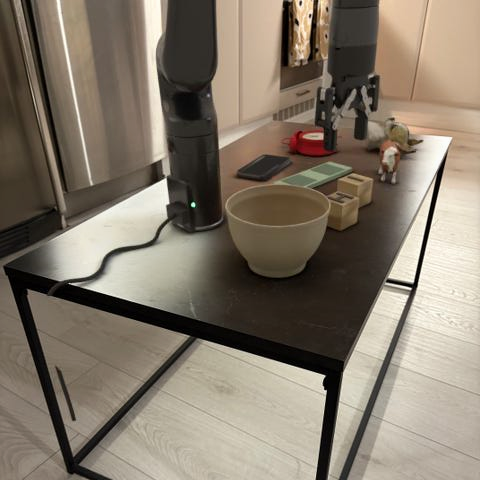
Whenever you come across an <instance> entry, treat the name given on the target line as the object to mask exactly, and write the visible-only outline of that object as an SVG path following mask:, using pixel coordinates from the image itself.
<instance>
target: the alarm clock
mask: <svg viewBox="0 0 480 480" xmlns="http://www.w3.org/2000/svg"><path fill="white" fill-rule="evenodd" d="M323 135H324V130H323V129H322V130H317V129H315V130H307V131H302V130H296V131H295V132H294V133H293V135H292V136H291V137H286V138H285V137H284V138H282V139H281V141H280V143H281V144H283V145H287V146H289V150H290V152H291V153H292V154H296V153H297V152H298V153H299V154H302V155H307V156H327V155H331V154H334V153H335V152H338V150H337V149H336V151H334V152H328V151H325V150H324V148H323V140H324V139H323ZM342 136H343V135H340V136H337V139H338V138H340V139H341V138H342ZM284 140H289V143H287V142H283V141H284ZM337 146H338V143H337Z"/></svg>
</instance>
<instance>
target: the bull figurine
mask: <svg viewBox="0 0 480 480" xmlns="http://www.w3.org/2000/svg"><path fill="white" fill-rule="evenodd" d="M401 156H402V155H401V154H400V153H399V151H398V149H397V147H396V145H395V144H394V143H393V142H392V141H390V140H387V141H386V142H384V143H383V144H382V145H381V148H379V161H380V163H379V164H380V165H379V166H380V167H379V170H378V173H377V174H378V175H381V178H380V182H385V181H386V173H387V172H388V173H391V175H392V177H391V181H390V183H391V184H397V181H396V175H397V170H398V165H399V164H400V159H401Z"/></svg>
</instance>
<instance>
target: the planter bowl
mask: <svg viewBox="0 0 480 480" xmlns="http://www.w3.org/2000/svg"><path fill="white" fill-rule="evenodd" d="M326 196H327V195H325V194H323V193H322V192H320V191H318V190H316V189H314V188H307V187H302V186H297V185H289V184H272V183H270V184H269V183H268V184H261V185H255V186H254V185H253V186H250V187H247V188H243V189H241V190H239V191H237V192H235V193H234V194H232V195H231V196H229V197H228V198H227V200H226V201H225V206H224V207H225V214H226V217H227V225H228V229H229V232H230V233H229V234H230V235H231V239H232V241H233V243H234V245H235V247H236V248H237V251H239V253H240V255H242V257H243V258H244V259H245V260H246V261H247V265H248V267H249V269H250V270H251V271H252V272H254V273H255V274H258V275H259V276H263V277H266V278H275V279H276V278H277V279H278V278H280V279H281V278H289V277H292V276H295V275H297V274H299V273H301V272H302V271H303V270H304V269H305V268H306V265H307V262H308V261H309V260H310V258H312V256H313V255H314V254H315V253H316V251H317V249H318V248H319V246H320V244H321V243H322V241H323V238H324V236H325V233H326V230H327V227H328V226H327V221H328V215H329V213H330V208H331V204H330V201H329V199H328V198H327V197H326Z"/></svg>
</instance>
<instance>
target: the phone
mask: <svg viewBox="0 0 480 480" xmlns="http://www.w3.org/2000/svg"><path fill="white" fill-rule="evenodd" d="M290 164H291V157H288V156H283V155H282V156H281V155H274V154H269V153H268V154H265V153H264V154H262V155H260V156H258V157H256V158H255V159H254V160H252V161H250V162H249V163H247V164H245V165H244V166H242V167H241V168H239V169H237V170H236V177H237V178H240V179H241V178H242V179H247V180H253V181H259V182H264V181H267V180H269V179H270V178H271V177H273V176H275V175H277V173H279V172H280V171H282V170H283V169H284V168H286V167H287V166H289V165H290Z"/></svg>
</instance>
